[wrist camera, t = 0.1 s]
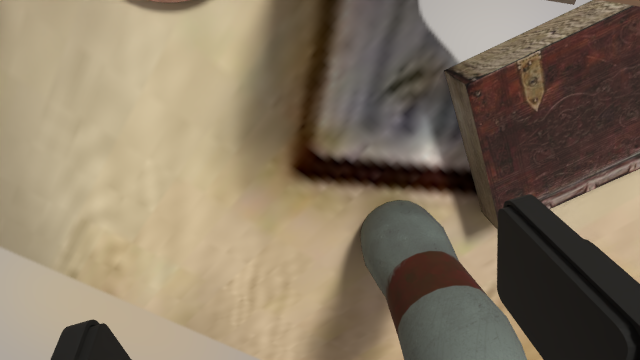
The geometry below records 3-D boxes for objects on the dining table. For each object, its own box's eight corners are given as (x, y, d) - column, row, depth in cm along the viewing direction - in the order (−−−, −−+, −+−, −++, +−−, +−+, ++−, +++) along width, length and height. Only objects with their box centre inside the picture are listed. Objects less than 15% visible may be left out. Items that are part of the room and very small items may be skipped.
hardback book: (480, 210, 52) (502, 235, 48) (442, 69, 42) (466, 84, 38) (712, 105, 50) (756, 121, 46) (728, -67, 41) (787, -66, 36)
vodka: (343, 253, 51) (458, 582, 25) (373, 187, 47) (544, 497, 21) (412, 264, 54) (578, 570, 28) (446, 203, 50) (673, 493, 24)
